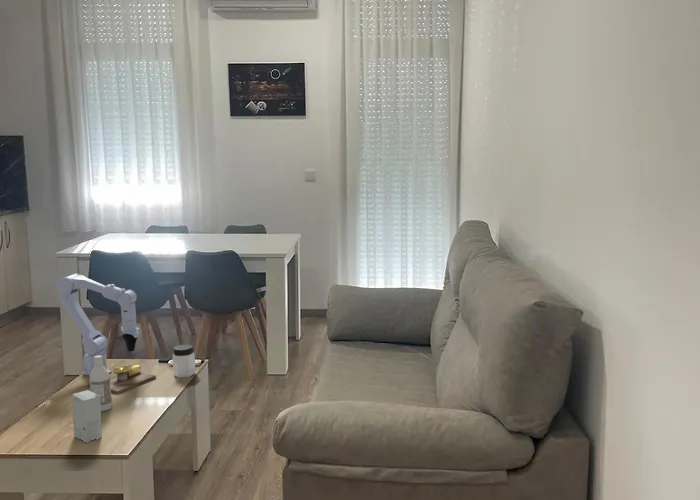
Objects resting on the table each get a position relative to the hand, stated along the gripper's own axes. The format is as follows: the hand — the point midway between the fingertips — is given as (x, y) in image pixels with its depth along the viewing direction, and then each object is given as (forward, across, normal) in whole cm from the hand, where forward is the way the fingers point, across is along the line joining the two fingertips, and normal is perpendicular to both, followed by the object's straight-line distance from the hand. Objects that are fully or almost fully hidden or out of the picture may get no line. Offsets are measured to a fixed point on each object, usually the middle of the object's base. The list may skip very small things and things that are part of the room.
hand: (131, 350), depth 277 cm
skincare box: (+11, -50, +36) cm, 63 cm away
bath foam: (+11, -29, +24) cm, 39 cm away
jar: (+11, -15, -16) cm, 25 cm away
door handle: (+9, -5, +4) cm, 11 cm away
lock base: (+10, -7, +7) cm, 14 cm away
